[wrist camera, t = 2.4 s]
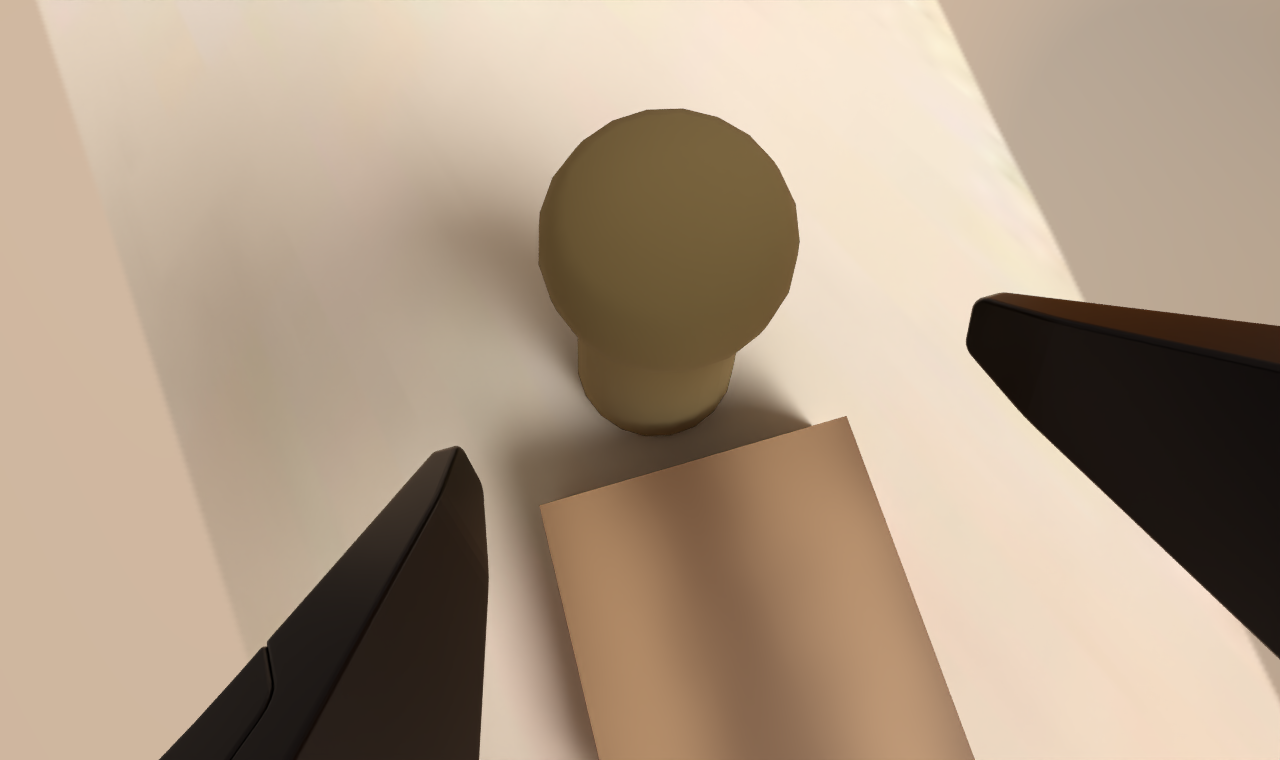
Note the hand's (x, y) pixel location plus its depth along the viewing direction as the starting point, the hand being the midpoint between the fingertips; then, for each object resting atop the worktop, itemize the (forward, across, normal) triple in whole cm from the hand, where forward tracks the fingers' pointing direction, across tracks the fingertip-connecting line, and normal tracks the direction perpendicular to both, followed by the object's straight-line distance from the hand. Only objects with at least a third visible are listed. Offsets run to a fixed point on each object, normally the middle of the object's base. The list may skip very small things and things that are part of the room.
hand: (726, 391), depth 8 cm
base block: (+3, 0, +12) cm, 12 cm away
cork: (+10, 0, +5) cm, 11 cm away
